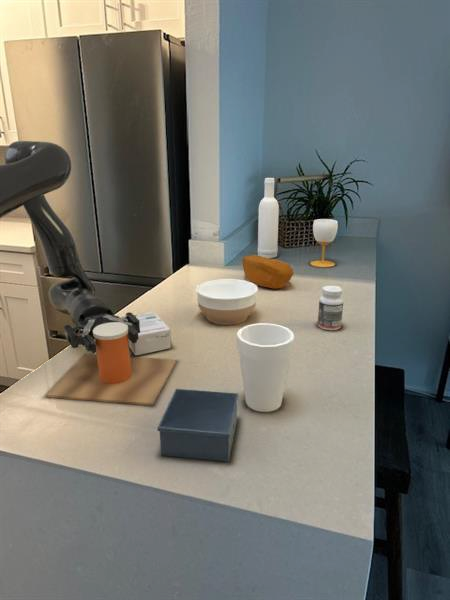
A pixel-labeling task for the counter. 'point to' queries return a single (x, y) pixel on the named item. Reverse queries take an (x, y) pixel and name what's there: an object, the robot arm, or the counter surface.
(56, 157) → the robot arm
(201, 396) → the tin
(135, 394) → the cutting board
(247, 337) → the foam cup
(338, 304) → the pill bottle
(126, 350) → the tub
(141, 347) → the ink box
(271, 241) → the bottle
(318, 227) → the cup
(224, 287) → the bowl
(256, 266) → the bread
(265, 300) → the counter surface
